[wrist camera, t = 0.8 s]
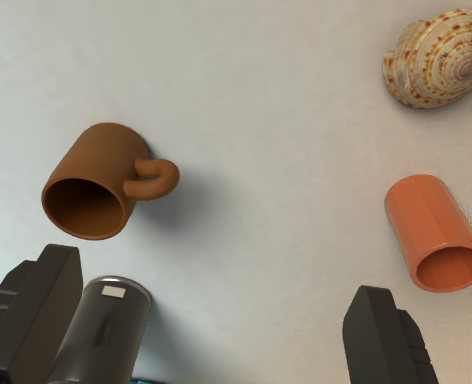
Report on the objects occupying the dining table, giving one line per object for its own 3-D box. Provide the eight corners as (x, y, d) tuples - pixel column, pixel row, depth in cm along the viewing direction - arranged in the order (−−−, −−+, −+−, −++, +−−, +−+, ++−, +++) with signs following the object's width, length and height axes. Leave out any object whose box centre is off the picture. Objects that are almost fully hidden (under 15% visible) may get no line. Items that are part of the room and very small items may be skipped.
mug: (177, 101, 38) (155, 153, 31) (202, 167, 43) (189, 227, 35) (65, 128, 41) (20, 183, 33) (100, 188, 45) (67, 248, 38)
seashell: (385, 20, 31) (507, 22, 28) (397, 2, 35) (506, 2, 32) (374, 118, 36) (477, 129, 32) (386, 92, 40) (479, 101, 36)
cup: (427, 226, 46) (461, 298, 38) (374, 214, 45) (397, 284, 37) (459, 182, 42) (505, 251, 34) (402, 168, 41) (435, 235, 33)
